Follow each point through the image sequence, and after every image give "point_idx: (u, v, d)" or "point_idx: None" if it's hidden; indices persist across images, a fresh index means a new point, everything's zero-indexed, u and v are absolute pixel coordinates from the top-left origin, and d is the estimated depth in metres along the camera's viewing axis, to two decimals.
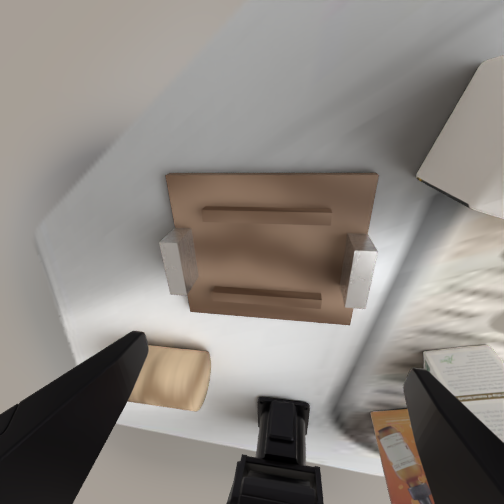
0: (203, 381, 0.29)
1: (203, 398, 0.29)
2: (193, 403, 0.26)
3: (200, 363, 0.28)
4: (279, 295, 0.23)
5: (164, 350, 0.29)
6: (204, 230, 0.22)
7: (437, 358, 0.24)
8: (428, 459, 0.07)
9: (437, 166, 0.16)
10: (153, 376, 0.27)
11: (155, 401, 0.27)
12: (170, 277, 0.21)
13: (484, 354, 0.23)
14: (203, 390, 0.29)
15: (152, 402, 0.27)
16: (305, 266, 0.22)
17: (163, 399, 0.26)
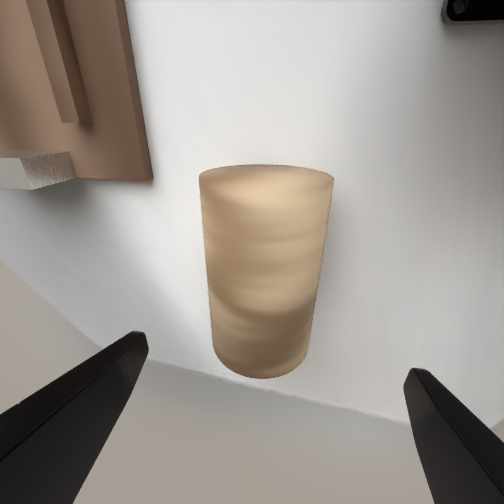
0: (281, 175, 0.12)
1: (313, 183, 0.10)
2: (237, 188, 0.10)
3: (224, 169, 0.13)
4: None
5: None
6: None
7: None
8: (428, 459, 0.07)
9: None
10: (206, 265, 0.13)
11: (240, 285, 0.11)
12: None
13: None
14: (295, 179, 0.11)
15: (246, 293, 0.11)
16: None
17: (226, 262, 0.11)
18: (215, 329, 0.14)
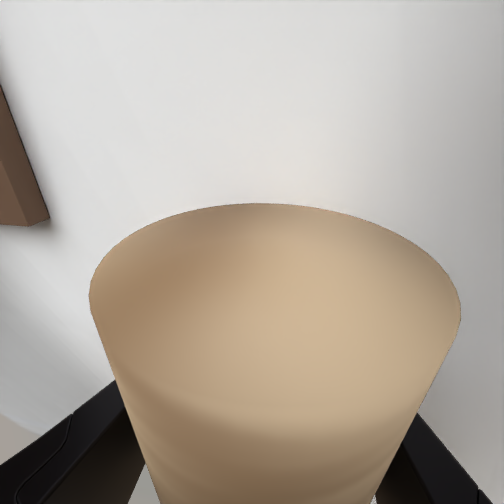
0: (303, 246, 0.05)
1: (411, 277, 0.04)
2: (245, 375, 0.03)
3: (160, 235, 0.05)
4: None
5: None
6: None
7: None
8: None
9: None
10: None
11: None
12: None
13: None
14: (352, 262, 0.05)
15: None
16: None
17: None
18: None
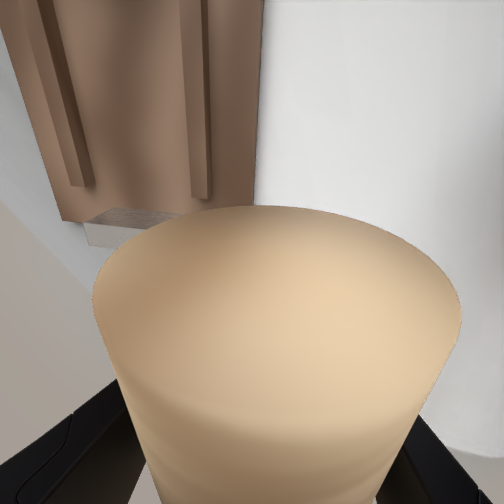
0: (304, 249, 0.05)
1: (411, 281, 0.04)
2: (248, 380, 0.03)
3: (162, 238, 0.06)
4: None
5: None
6: (113, 190, 0.17)
7: None
8: None
9: None
10: None
11: None
12: None
13: None
14: (353, 266, 0.05)
15: None
16: (134, 18, 0.13)
17: None
18: None
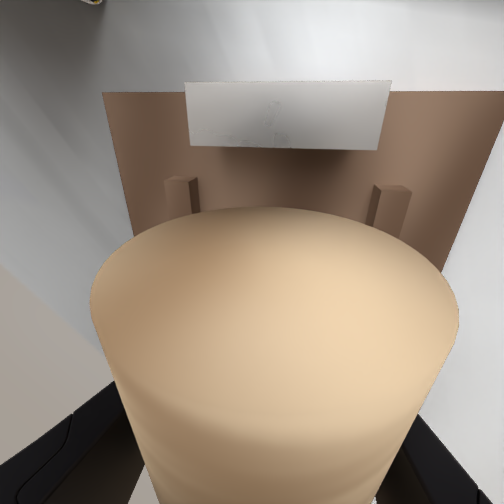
0: (303, 251, 0.05)
1: (409, 282, 0.04)
2: (245, 383, 0.03)
3: (161, 240, 0.05)
4: None
5: None
6: None
7: None
8: None
9: None
10: None
11: None
12: None
13: None
14: (351, 268, 0.05)
15: None
16: None
17: None
18: None
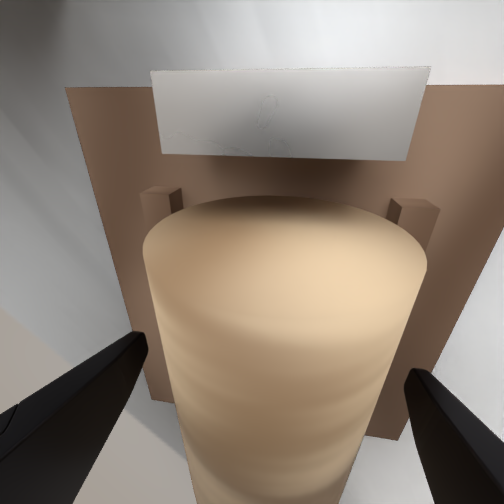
0: (306, 227, 0.06)
1: (391, 245, 0.05)
2: (278, 304, 0.04)
3: (186, 221, 0.07)
4: None
5: None
6: None
7: None
8: (428, 459, 0.07)
9: None
10: (178, 412, 0.07)
11: (275, 471, 0.05)
12: None
13: None
14: (346, 237, 0.06)
15: (288, 478, 0.06)
16: None
17: (245, 440, 0.05)
18: None
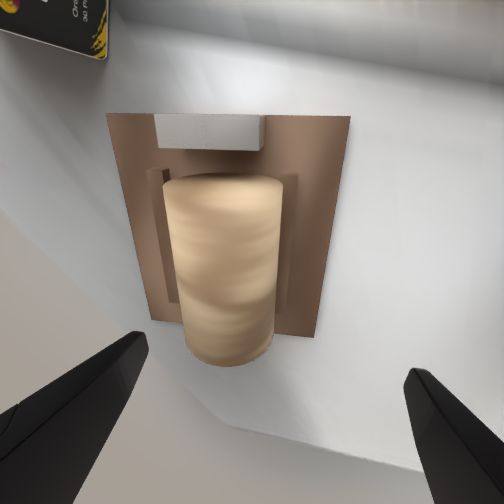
0: (236, 182, 0.13)
1: (271, 185, 0.13)
2: (226, 198, 0.11)
3: (178, 183, 0.13)
4: None
5: None
6: None
7: None
8: (428, 459, 0.07)
9: None
10: (183, 278, 0.13)
11: (232, 284, 0.13)
12: None
13: None
14: (253, 184, 0.13)
15: (238, 289, 0.13)
16: None
17: (218, 266, 0.12)
18: (201, 336, 0.14)
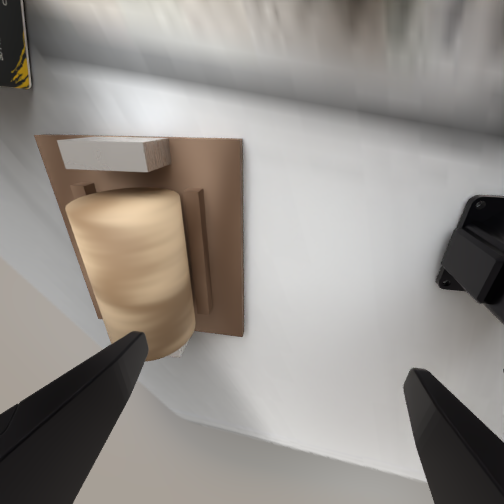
0: (139, 198, 0.15)
1: (166, 201, 0.15)
2: (111, 215, 0.13)
3: (86, 199, 0.15)
4: None
5: None
6: None
7: None
8: (428, 459, 0.07)
9: None
10: (92, 283, 0.15)
11: (131, 288, 0.14)
12: None
13: None
14: (152, 200, 0.15)
15: (138, 293, 0.15)
16: None
17: (114, 273, 0.14)
18: (115, 334, 0.16)
